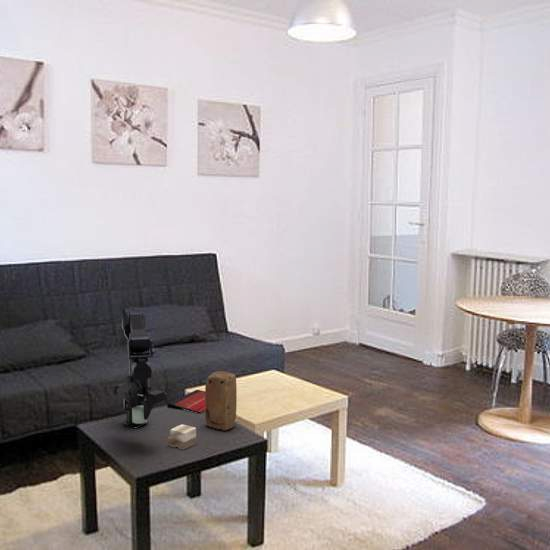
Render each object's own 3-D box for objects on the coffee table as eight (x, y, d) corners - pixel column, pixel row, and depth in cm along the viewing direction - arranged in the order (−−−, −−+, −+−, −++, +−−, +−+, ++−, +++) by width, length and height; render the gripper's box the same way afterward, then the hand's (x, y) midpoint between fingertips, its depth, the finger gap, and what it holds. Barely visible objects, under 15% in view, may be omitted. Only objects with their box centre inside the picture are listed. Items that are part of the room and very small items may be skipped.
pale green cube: (129, 421, 212) (129, 408, 212) (139, 417, 217) (139, 404, 216) (140, 424, 210) (140, 411, 209) (150, 420, 214) (150, 407, 213)
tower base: (167, 446, 214) (167, 437, 213) (181, 439, 220) (181, 431, 219) (183, 451, 210) (183, 442, 210) (197, 444, 216) (197, 435, 216)
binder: (167, 402, 251) (196, 388, 270) (166, 408, 251) (196, 394, 270) (201, 411, 244) (229, 396, 263) (201, 417, 244) (229, 401, 263)
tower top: (170, 438, 213) (170, 429, 213) (181, 432, 218) (181, 424, 218) (184, 442, 210) (184, 433, 210) (195, 436, 215) (196, 427, 215)
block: (238, 426, 232) (238, 373, 229) (226, 433, 225) (227, 378, 223) (213, 420, 237) (213, 368, 235) (201, 427, 231) (201, 373, 228)
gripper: (101, 372, 209) (102, 418, 211) (143, 382, 199) (143, 431, 201) (126, 365, 219) (126, 409, 221) (167, 374, 209) (167, 421, 211)
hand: (140, 417), depth 213 cm, fingers closed on pale green cube, 5 cm apart
